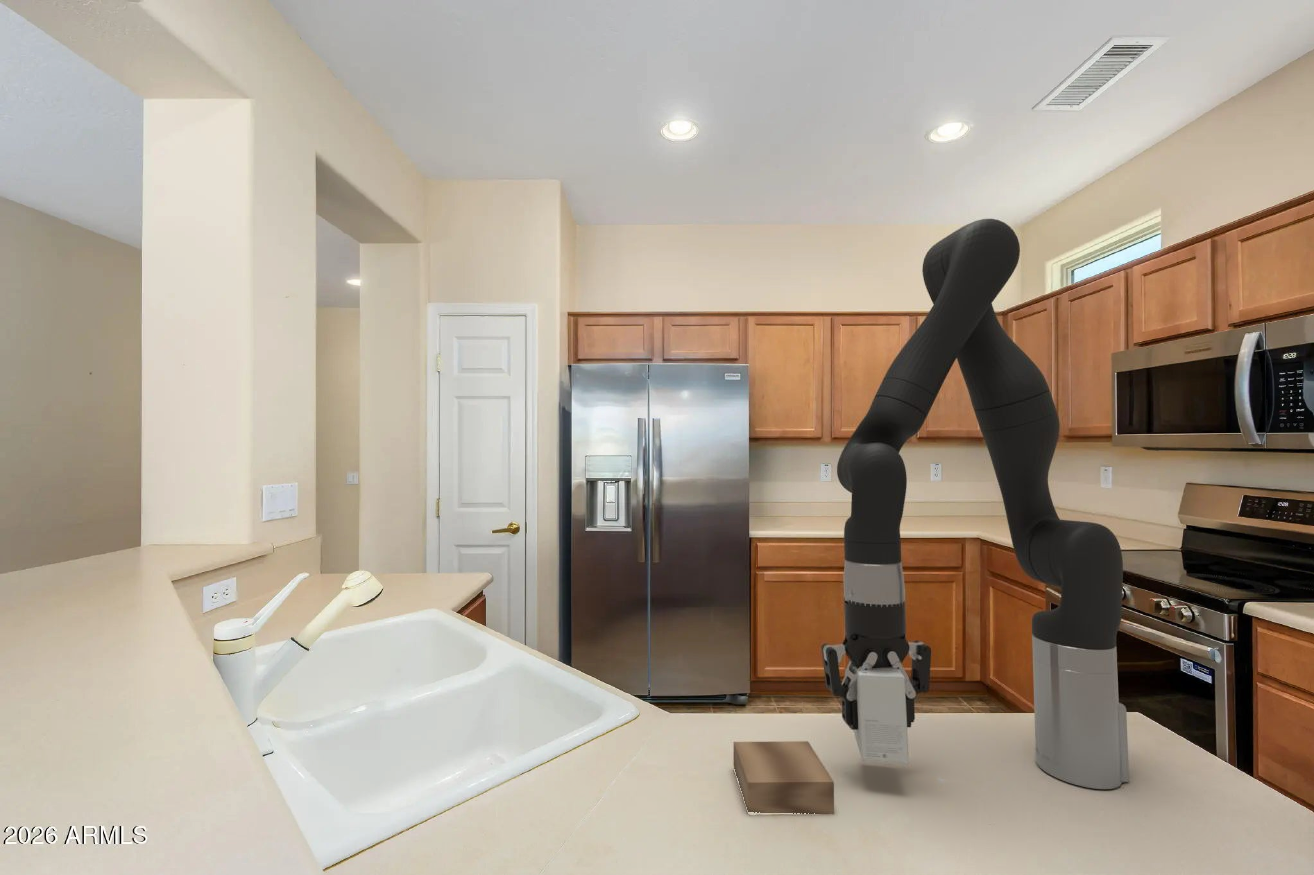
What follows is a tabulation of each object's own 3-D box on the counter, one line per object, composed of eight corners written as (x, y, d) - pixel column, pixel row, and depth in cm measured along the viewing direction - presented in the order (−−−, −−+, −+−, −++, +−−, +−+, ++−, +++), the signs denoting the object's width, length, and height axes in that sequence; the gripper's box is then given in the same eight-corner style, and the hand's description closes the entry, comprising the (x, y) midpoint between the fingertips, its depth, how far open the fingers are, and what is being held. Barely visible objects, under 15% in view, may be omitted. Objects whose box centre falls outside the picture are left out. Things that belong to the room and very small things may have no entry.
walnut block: (808, 772, 76) (808, 741, 76) (834, 817, 66) (833, 782, 66) (733, 773, 75) (733, 741, 76) (748, 818, 66) (748, 782, 66)
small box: (909, 765, 69) (905, 677, 70) (860, 761, 70) (857, 674, 71) (896, 735, 77) (893, 656, 78) (852, 732, 78) (850, 654, 79)
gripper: (912, 588, 79) (917, 712, 78) (810, 590, 78) (814, 716, 77) (942, 600, 72) (948, 737, 71) (830, 603, 71) (834, 742, 70)
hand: (878, 725), depth 74 cm, fingers closed on small box, 6 cm apart
